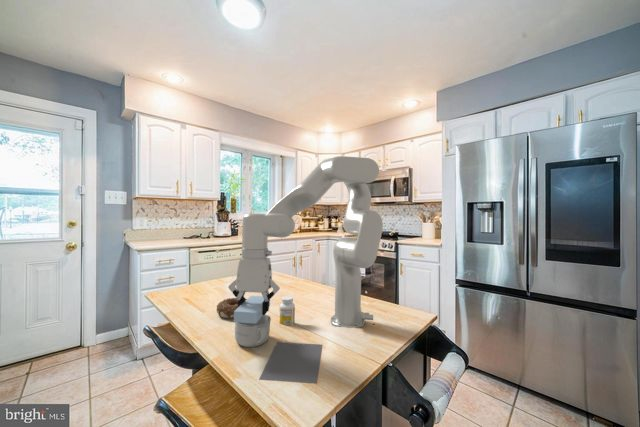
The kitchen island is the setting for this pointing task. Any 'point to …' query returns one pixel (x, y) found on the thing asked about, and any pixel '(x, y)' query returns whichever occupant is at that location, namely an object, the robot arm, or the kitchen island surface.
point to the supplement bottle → (287, 311)
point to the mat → (293, 363)
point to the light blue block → (250, 310)
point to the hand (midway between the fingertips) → (253, 312)
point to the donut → (227, 307)
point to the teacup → (253, 332)
